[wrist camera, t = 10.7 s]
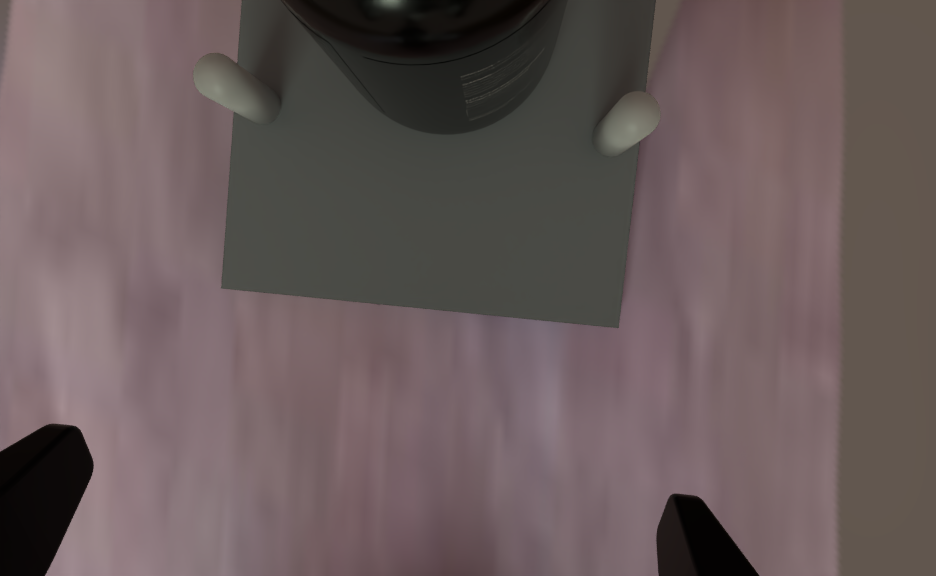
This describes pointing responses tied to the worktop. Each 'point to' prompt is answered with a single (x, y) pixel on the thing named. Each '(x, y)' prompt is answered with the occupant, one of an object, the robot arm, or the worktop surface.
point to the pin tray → (436, 177)
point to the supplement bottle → (437, 55)
